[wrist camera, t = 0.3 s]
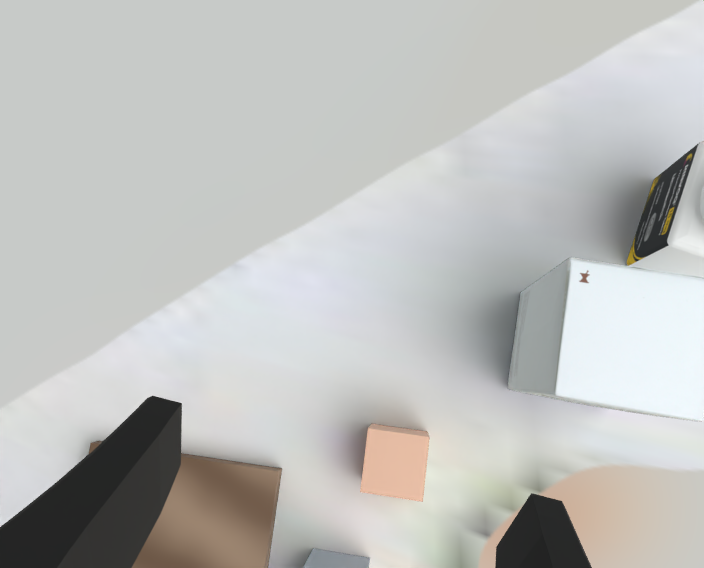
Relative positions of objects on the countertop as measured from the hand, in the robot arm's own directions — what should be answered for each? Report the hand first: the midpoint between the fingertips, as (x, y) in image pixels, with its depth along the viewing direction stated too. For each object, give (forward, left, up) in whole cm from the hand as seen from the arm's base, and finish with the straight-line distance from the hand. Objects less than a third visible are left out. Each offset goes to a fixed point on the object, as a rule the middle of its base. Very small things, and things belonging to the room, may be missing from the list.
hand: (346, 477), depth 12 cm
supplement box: (+6, -12, -30) cm, 33 cm away
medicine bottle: (+15, -20, -30) cm, 39 cm away
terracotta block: (-3, -1, -30) cm, 30 cm away
